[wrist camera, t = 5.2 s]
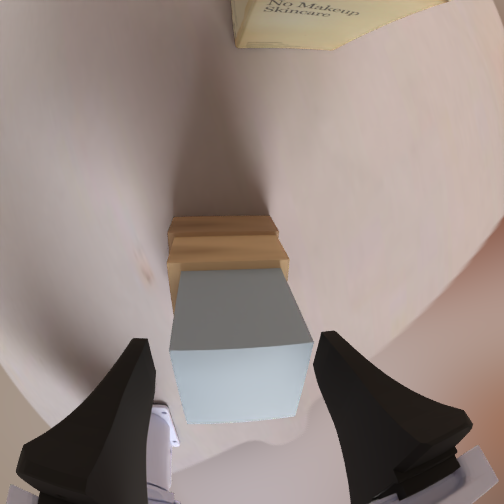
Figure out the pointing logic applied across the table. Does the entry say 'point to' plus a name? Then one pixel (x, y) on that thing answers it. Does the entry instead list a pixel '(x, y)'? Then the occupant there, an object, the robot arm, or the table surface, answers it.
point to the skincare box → (315, 21)
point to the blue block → (238, 346)
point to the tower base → (220, 226)
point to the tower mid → (223, 256)
